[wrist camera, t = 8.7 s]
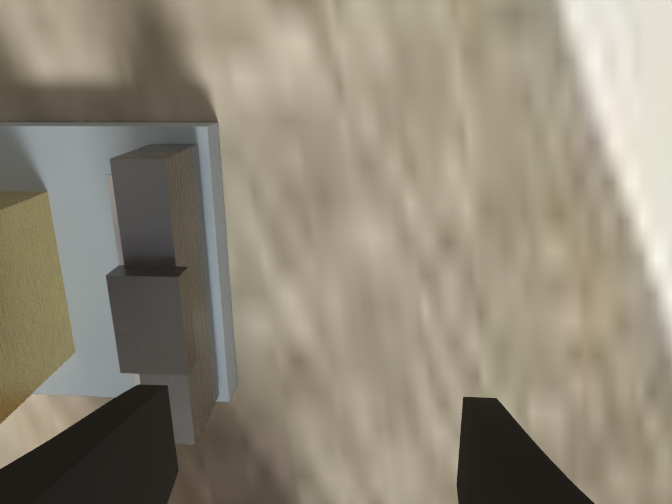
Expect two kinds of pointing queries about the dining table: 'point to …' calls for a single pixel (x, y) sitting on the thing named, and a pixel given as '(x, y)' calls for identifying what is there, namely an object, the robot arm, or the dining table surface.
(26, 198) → the brass block
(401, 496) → the dining table surface
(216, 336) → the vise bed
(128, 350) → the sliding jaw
